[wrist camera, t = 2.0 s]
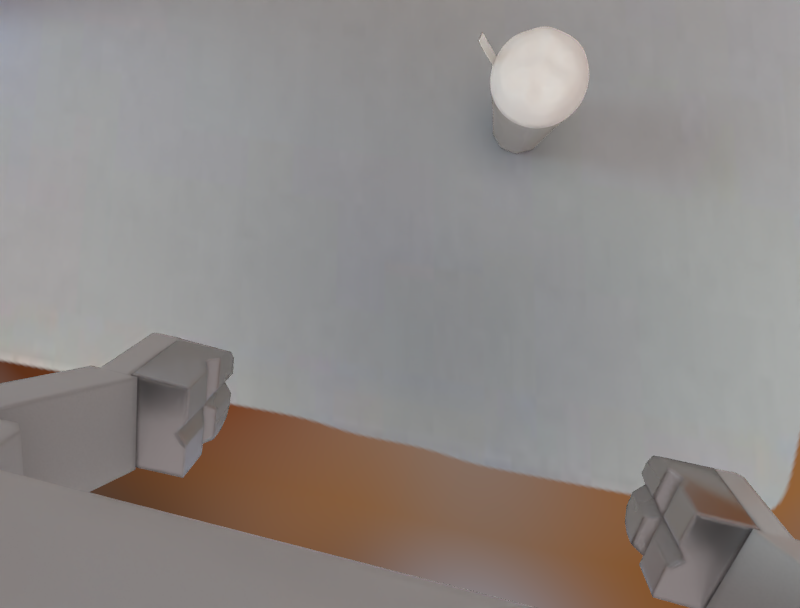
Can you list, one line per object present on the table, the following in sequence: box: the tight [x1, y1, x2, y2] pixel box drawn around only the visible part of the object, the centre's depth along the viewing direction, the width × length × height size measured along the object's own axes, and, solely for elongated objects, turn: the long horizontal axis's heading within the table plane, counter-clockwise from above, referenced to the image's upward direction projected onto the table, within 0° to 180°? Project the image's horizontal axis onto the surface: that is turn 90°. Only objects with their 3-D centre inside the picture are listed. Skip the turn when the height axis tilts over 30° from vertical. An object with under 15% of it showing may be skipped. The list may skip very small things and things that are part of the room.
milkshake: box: [478, 27, 589, 154], centre depth 27 cm, size 4×5×10 cm
